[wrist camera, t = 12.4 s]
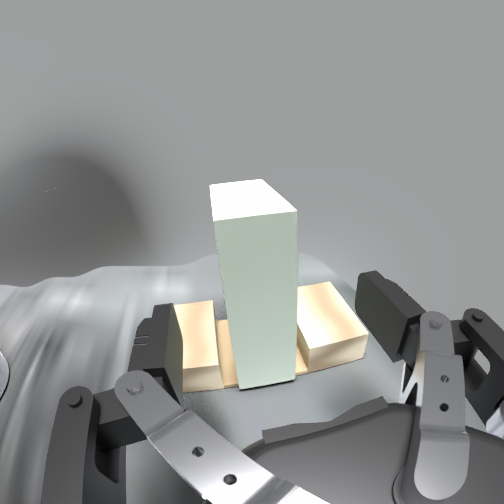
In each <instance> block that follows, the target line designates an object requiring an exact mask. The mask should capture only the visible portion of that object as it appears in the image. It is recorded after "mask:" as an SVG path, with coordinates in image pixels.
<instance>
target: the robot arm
mask: <svg viewBox="0 0 504 504" xmlns="http://www.w3.org/2000/svg"><path fill="white" fill-rule="evenodd" d="M355 310H356V313H357V315H358V316H359V318H360V319H361V320H362V322H363V323H364V324H365V325H366V327H367V328H368V329H369V331H370V332H371V333H372V335H373V336H374V337H375V339H376V340H377V341H378V343H379V344H380V345H381V347H382V348H383V349H384V351H385V352H386V353H387V355H388V356H389V357H390V359H391V360H392V362H393V363H394V362H397V361H399V360H402V359H404V361H405V363H404V366H403V372H402V379H401V386H400V393H399V399H398V403H386V401H385V400H384V398H383V396H381V397H379V398H376V399H374V400H371V401H368V402H366V403H363V404H360V405H357V406H355V407H354V408H352V409H350V410H349V411H347V412H345V413H344V414H342V415H340V416H339V417H337V418H335V419H334V420H332V421H329V422H321V423H300V424H291V425H286V426H282V427H277V428H272V429H267V430H262V435H263V439H261V440H259V441H256V442H255V443H253V444H251V445H249V446H248V447H246V448H245V449H244V450H242V451H240V450H238V449H237V448H236V447H235V446H233V445H232V444H231V443H229V442H228V441H227V440H226V439H224V438H223V437H222V436H221V435H220V434H218V433H217V432H216V431H215V430H214V429H212V428H211V427H210V426H209V425H208V424H207V423H205V422H204V421H203V420H202V419H201V418H200V417H199V416H198V415H196V414H195V413H194V412H193V411H192V410H190V409H186V410H185V409H183V338H182V333H181V329H180V326H179V322H178V319H177V315H176V312H175V308H174V305H173V303H169V304H161V305H155V306H154V310H153V315H152V318H146V319H144V320H143V321H142V322H141V323H140V325H139V326H138V327H137V331H136V335H135V337H136V338H135V340H134V345H133V348H132V353H131V357H130V362H129V367H128V372H127V373H125V374H124V375H122V376H121V377H120V378H119V379H118V380H117V382H116V384H115V387H114V388H113V389H111V390H108V391H104V392H101V393H97V394H92V392H91V391H90V390H89V389H88V388H86V387H82V386H77V387H73V388H70V389H69V390H67V391H66V392H65V393H64V394H63V395H62V396H61V398H60V401H59V404H58V408H57V412H56V416H55V420H54V425H53V429H52V434H51V438H50V443H49V449H48V454H47V460H46V466H45V473H44V481H43V490H42V501H41V504H126V445H129V444H132V443H136V442H139V441H143V440H146V439H148V441H149V442H150V443H151V444H152V445H153V446H154V448H155V449H156V450H157V451H158V452H159V453H160V455H161V456H162V457H163V458H164V459H165V460H166V461H167V462H168V463H169V464H170V466H171V467H172V468H173V469H174V470H175V471H176V472H177V473H178V474H179V475H180V476H181V477H182V478H183V479H184V480H185V481H186V482H187V483H188V484H189V485H190V486H191V487H192V488H193V489H194V490H195V491H196V492H197V493H198V494H199V495H200V496H201V497H203V498H204V499H205V500H204V502H203V503H202V504H504V331H503V330H502V329H501V328H500V327H499V326H498V325H497V324H496V323H495V322H494V321H493V320H492V319H491V318H490V317H489V316H488V315H487V314H486V313H484V312H483V311H481V310H479V309H474V308H471V309H467V310H466V311H465V312H464V315H463V318H462V320H454V321H450V320H449V319H448V318H447V317H446V316H445V315H443V314H442V313H439V312H434V311H429V312H426V311H425V310H424V309H423V308H422V307H421V306H420V305H419V304H418V303H417V302H416V301H415V300H413V299H412V298H411V297H410V296H408V294H407V293H406V292H405V291H403V289H402V288H401V287H399V286H398V285H397V284H396V283H394V282H392V281H390V280H388V279H385V278H384V277H383V276H382V275H381V274H380V273H378V272H377V271H370V272H365V273H361V274H360V275H359V277H358V284H357V291H356V298H355ZM478 349H479V350H480V351H481V352H482V353H483V355H484V356H485V357H486V358H487V359H488V361H489V362H490V371H489V373H488V375H487V374H486V372H485V371H484V370H483V369H482V368H481V366H480V365H479V364H478V363H477V361H476V360H475V359H474V356H475V355H476V352H477V350H478ZM8 376H9V367H8V363H7V361H6V359H5V358H4V356H3V355H2V353H1V351H0V397H1V395H2V394H3V391H4V389H5V387H6V384H7V381H8ZM465 397H466V398H467V399H468V401H469V402H470V404H471V405H472V407H473V408H474V410H475V411H476V413H477V414H478V416H479V417H480V419H481V420H482V422H483V423H484V425H485V427H486V431H487V433H486V432H483V431H480V430H477V429H474V428H471V427H468V426H465Z"/></svg>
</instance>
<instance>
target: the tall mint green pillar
mask: <svg viewBox="0 0 504 504" xmlns="http://www.w3.org/2000/svg"><path fill="white" fill-rule="evenodd" d="M210 193H211V202H212V212H213V221H214V229H215V236H216V244H217V251H218V259H219V266H220V273H221V280H222V286H223V293H224V300H225V306H226V313H227V319H228V325H229V331H230V338H231V344H232V349H233V355H234V361H235V367H236V373H237V378H238V384H239V389H246V388H252V387H258V386H263V385H269V384H274V383H279V382H284V381H289V380H294V379H295V370H296V345H297V308H298V224H297V210H296V209H294V207H292V206H291V205H290V204H289V203H288V202H287V201H286V200H285V199H283V198H282V197H281V196H280V195H279V194H278V193H277V192H276V191H274V190H273V189H272V188H271V187H270V186H269V185H268V184H266V183H265V182H264V181H263V180H261V179H260V180H250V181H241V182H232V183H223V184H215V185H210Z"/></svg>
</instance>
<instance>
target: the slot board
mask: <svg viewBox="0 0 504 504" xmlns="http://www.w3.org/2000/svg"><path fill="white" fill-rule="evenodd" d="M174 308H175V312H176V315H177V319H178V322H179V326H180V329H181V333H182V338H183V393H185V392H196V391H206V390H215V389H223V388H230V387H237V386H239V384H238V378H237V373H236V367H235V361H234V355H233V349H232V344H231V338H230V331H229V325H228V319H226V320H219V321H216V317H215V311H214V306H213V300H212V301H204V302H197V303H189V304H181V305H174ZM368 335H369V333H368V332H367V330H366V329H365V328H364V326H363V325H362V324H361V322H360V321H359V320H358V318H357V317H356V316H355V314H354V313H353V312H352V310H351V309H350V308H349V306H348V305H347V304H346V302H345V301H344V300H343V298H342V297H341V296H340V294H339V293H338V292H337V291H336V289H335V288H334V287H333V285H332V284H331V283H330V282H325V283H319V284H314V285H308V286H302V287H298V308H297V345H296V370H295V376H297V375H301V374H305V373H310V372H314V371H318V370H322V369H326V368H330V367H333V366H337V365H341V364H344V363H348V362H351V361H355V360H358V359H361V358H363V355H364V351H365V347H366V343H367V339H368Z"/></svg>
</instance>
